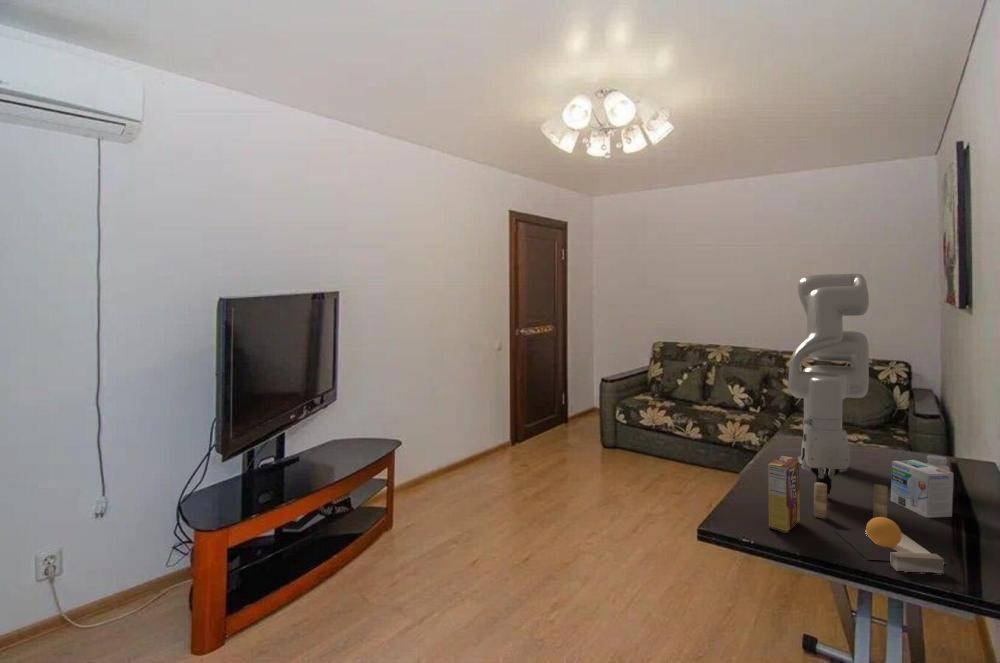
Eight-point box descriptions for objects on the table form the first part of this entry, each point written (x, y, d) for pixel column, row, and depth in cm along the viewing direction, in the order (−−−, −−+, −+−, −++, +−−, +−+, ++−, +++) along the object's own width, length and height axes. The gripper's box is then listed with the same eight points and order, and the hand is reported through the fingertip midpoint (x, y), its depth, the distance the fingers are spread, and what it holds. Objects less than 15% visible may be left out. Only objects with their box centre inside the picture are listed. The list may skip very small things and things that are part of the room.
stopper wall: (890, 566, 99) (890, 551, 99) (935, 569, 98) (936, 553, 97) (896, 571, 97) (896, 556, 97) (943, 574, 96) (943, 559, 96)
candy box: (780, 517, 122) (781, 454, 121) (800, 522, 119) (801, 458, 118) (766, 528, 116) (767, 463, 115) (787, 534, 113) (788, 467, 112)
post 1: (811, 514, 123) (812, 482, 123) (823, 514, 123) (823, 482, 123) (816, 518, 121) (817, 486, 120) (828, 519, 120) (829, 486, 120)
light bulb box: (889, 501, 131) (890, 460, 130) (913, 500, 131) (914, 459, 131) (927, 518, 120) (928, 474, 120) (953, 517, 121) (955, 472, 120)
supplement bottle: (954, 497, 133) (955, 460, 132) (930, 495, 134) (931, 459, 133) (940, 489, 138) (941, 454, 138) (918, 488, 139) (919, 453, 139)
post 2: (870, 516, 121) (871, 484, 121) (882, 517, 121) (883, 484, 121) (877, 521, 119) (877, 488, 118) (889, 522, 118) (890, 488, 118)
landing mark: (832, 529, 115) (832, 528, 115) (900, 532, 113) (900, 531, 113) (867, 560, 101) (867, 559, 101) (945, 564, 99) (945, 563, 99)
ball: (878, 532, 104) (871, 552, 106) (911, 533, 103) (903, 554, 105) (864, 510, 109) (857, 530, 111) (895, 511, 108) (888, 531, 110)
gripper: (800, 426, 130) (799, 496, 131) (864, 427, 128) (862, 498, 129) (788, 419, 138) (787, 486, 139) (848, 420, 135) (846, 488, 136)
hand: (823, 492), depth 134 cm, fingers closed
